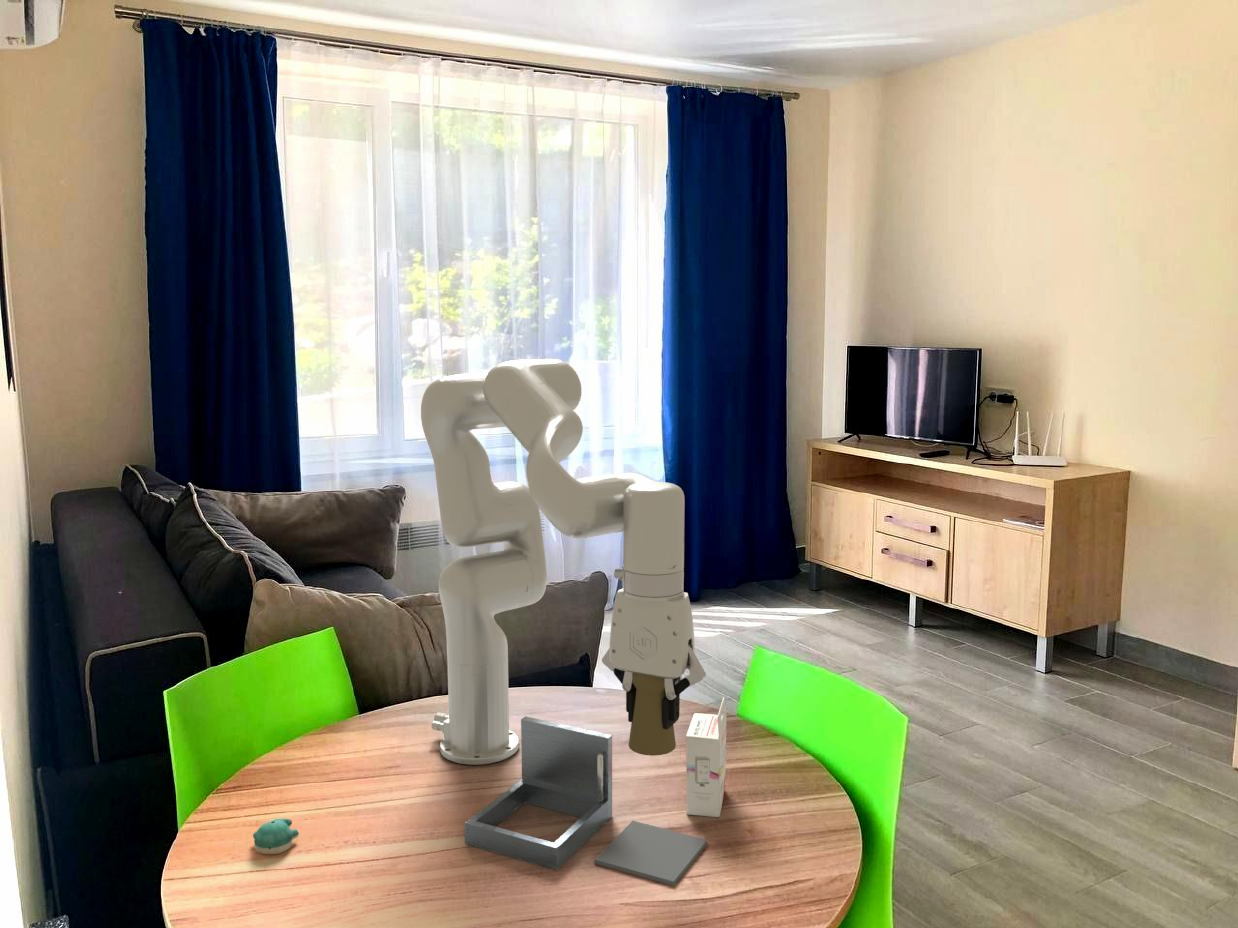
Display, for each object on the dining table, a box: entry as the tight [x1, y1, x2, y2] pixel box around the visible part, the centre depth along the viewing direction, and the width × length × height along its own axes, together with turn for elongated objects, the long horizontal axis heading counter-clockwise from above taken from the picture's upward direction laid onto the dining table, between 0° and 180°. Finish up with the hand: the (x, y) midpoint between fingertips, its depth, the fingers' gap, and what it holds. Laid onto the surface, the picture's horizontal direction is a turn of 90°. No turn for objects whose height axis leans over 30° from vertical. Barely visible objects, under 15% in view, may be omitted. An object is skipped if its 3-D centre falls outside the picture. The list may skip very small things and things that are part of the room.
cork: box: [628, 673, 677, 757], centre depth 127 cm, size 6×6×11 cm
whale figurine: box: [252, 818, 300, 855], centre depth 133 cm, size 6×7×4 cm
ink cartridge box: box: [685, 696, 727, 818], centre depth 143 cm, size 9×5×15 cm, turn 168°
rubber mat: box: [594, 820, 708, 887], centre depth 130 cm, size 11×11×1 cm
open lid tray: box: [464, 716, 613, 871], centre depth 135 cm, size 14×15×12 cm
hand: (652, 720), depth 127 cm, fingers closed on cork, 4 cm apart
